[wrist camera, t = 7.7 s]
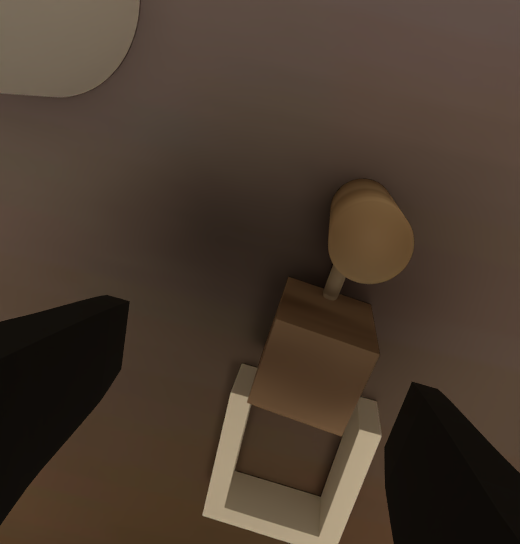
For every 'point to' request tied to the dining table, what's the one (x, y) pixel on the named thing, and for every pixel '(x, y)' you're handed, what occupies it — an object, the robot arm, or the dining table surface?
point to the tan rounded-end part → (333, 315)
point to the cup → (63, 44)
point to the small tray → (284, 500)
